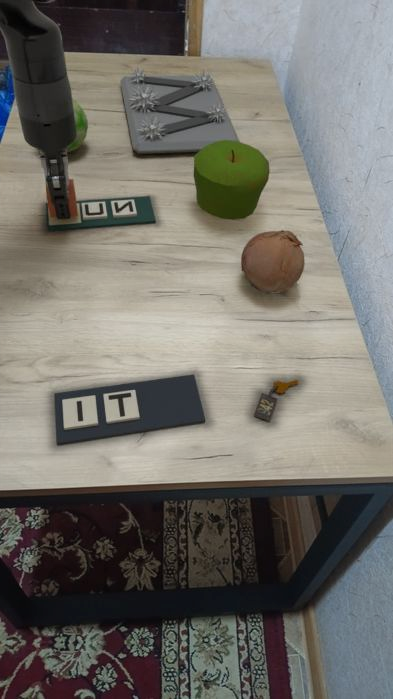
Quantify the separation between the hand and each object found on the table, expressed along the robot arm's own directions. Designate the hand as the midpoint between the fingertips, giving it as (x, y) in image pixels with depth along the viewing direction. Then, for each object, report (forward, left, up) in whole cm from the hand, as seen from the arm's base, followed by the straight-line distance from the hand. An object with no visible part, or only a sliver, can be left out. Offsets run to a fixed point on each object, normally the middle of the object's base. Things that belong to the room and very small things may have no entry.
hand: (63, 208), depth 82 cm
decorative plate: (+25, +31, -2) cm, 40 cm away
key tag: (+25, -41, -2) cm, 48 cm away
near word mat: (+6, -39, -2) cm, 39 cm away
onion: (+30, -20, -2) cm, 36 cm away
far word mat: (+6, 0, -2) cm, 6 cm away
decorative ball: (+1, +21, -2) cm, 21 cm away
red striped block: (0, 0, 0) cm, 0 cm away
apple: (+28, -1, -2) cm, 28 cm away
